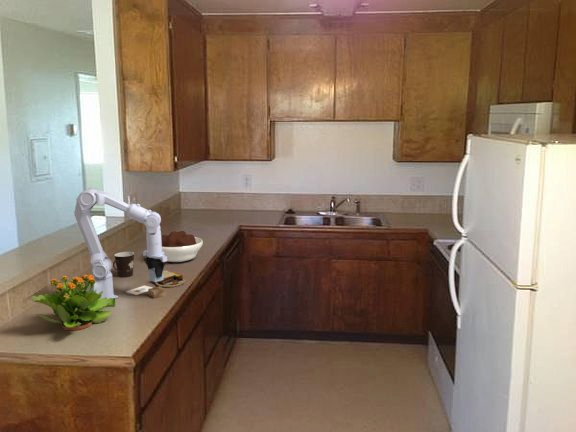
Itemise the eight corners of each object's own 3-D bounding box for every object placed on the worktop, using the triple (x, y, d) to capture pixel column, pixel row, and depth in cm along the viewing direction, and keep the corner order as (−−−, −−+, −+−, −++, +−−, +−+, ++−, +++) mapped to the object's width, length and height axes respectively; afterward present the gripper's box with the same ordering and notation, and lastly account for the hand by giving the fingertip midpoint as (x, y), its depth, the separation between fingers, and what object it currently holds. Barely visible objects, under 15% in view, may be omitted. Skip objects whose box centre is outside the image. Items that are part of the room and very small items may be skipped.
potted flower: (100, 339, 172) (96, 288, 168) (24, 342, 170) (19, 290, 167) (118, 312, 196) (115, 266, 193) (52, 314, 194) (48, 268, 191)
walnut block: (154, 299, 210) (153, 292, 210) (148, 296, 214) (148, 289, 214) (165, 296, 214) (165, 289, 213) (159, 293, 217) (159, 286, 217)
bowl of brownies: (166, 252, 282) (164, 225, 279) (210, 254, 277) (209, 226, 274) (144, 265, 258) (142, 235, 255) (192, 267, 253) (191, 237, 250)
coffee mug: (129, 271, 248) (128, 250, 246) (138, 275, 242) (137, 254, 240) (106, 276, 240) (104, 255, 238) (115, 280, 234) (113, 259, 232)
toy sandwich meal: (166, 290, 221) (166, 279, 220) (148, 284, 230) (147, 273, 229) (190, 283, 230) (190, 273, 229) (172, 277, 239) (171, 267, 238)
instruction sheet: (136, 295, 215) (136, 294, 215) (125, 292, 219) (125, 291, 218) (155, 288, 223) (155, 288, 223) (144, 285, 227) (144, 285, 227)
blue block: (154, 282, 210) (154, 271, 209) (149, 280, 213) (148, 269, 212) (163, 279, 213) (163, 269, 212) (158, 277, 215) (157, 267, 215)
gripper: (173, 244, 208) (174, 277, 210) (153, 238, 218) (154, 270, 220) (157, 247, 203) (159, 281, 205) (137, 241, 213) (139, 274, 215)
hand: (156, 275), depth 212 cm, fingers closed on blue block, 4 cm apart
